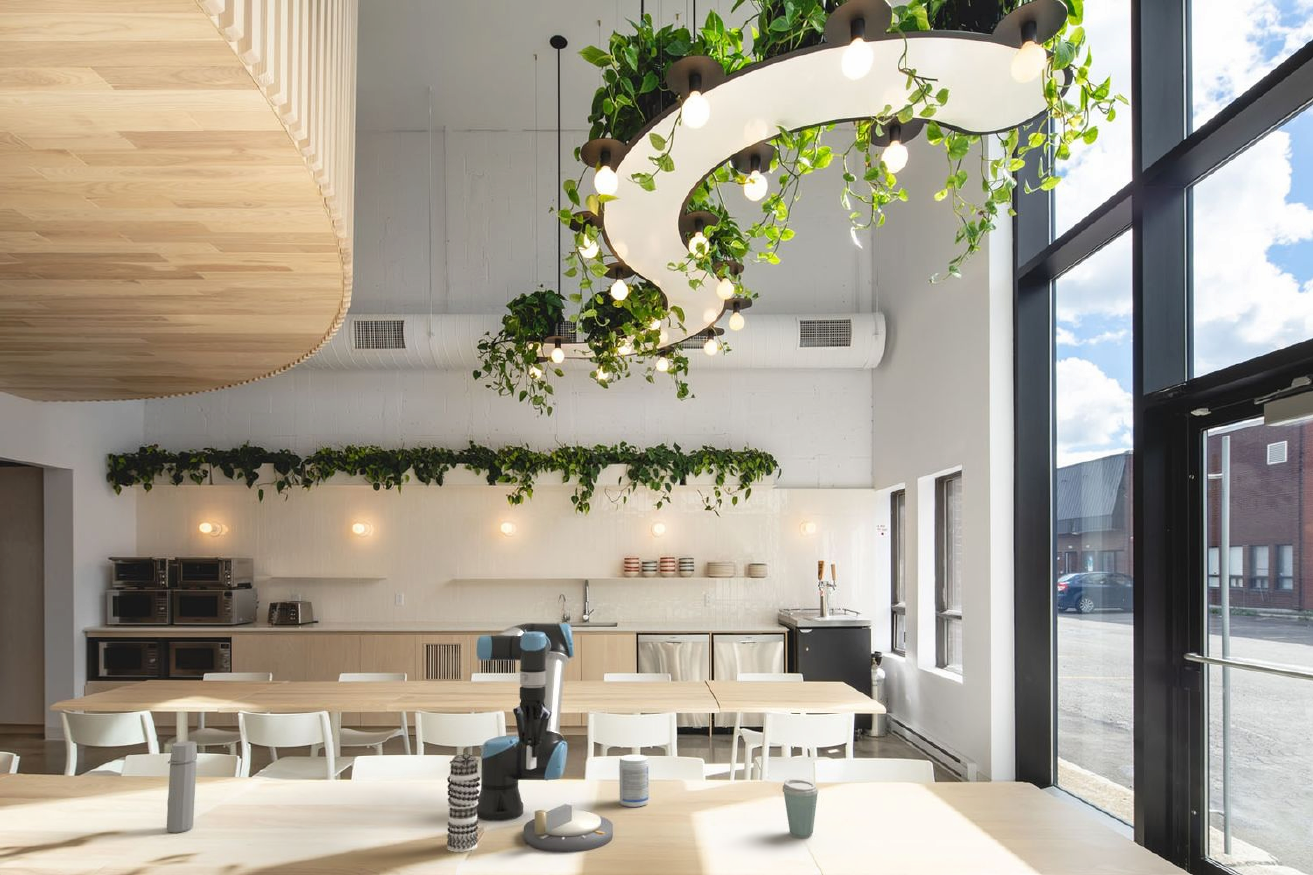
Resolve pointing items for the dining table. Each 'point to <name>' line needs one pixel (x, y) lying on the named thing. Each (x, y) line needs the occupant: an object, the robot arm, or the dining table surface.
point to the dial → (566, 822)
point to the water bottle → (181, 787)
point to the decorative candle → (463, 803)
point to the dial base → (568, 839)
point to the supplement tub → (634, 780)
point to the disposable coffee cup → (800, 806)
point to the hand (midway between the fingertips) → (531, 768)
